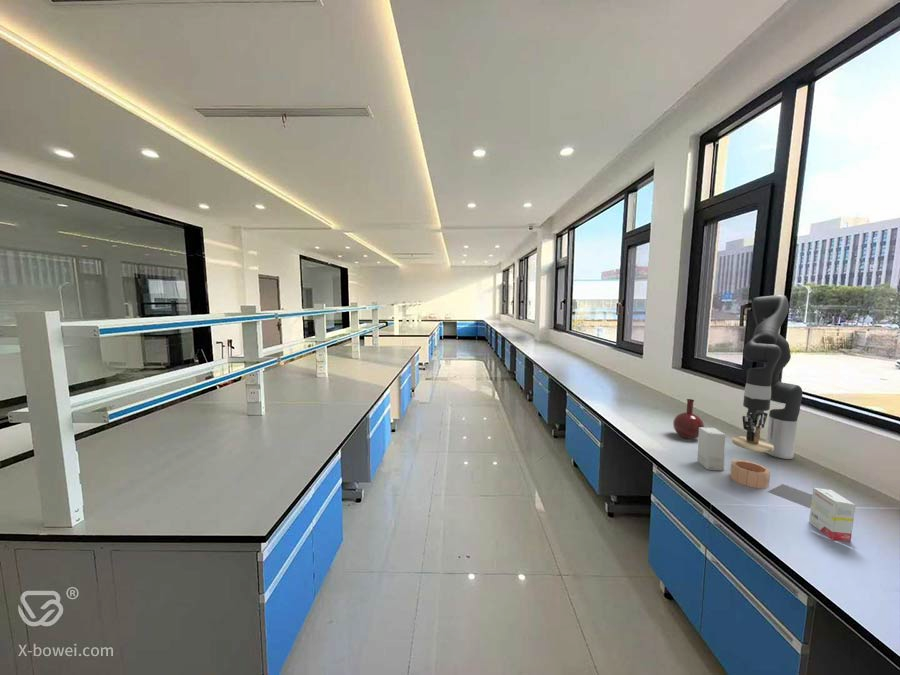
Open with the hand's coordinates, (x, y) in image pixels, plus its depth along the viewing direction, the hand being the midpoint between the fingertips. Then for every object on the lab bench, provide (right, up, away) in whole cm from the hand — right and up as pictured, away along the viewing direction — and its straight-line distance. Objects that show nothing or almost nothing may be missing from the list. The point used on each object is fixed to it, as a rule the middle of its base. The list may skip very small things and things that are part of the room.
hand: (752, 439), depth 132 cm
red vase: (+6, -12, +45) cm, 47 cm away
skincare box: (-6, -16, +14) cm, 22 cm away
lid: (0, -2, 0) cm, 2 cm away
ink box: (-1, -20, -28) cm, 34 cm away
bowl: (0, -17, +2) cm, 17 cm away
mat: (+8, -18, -9) cm, 21 cm away
